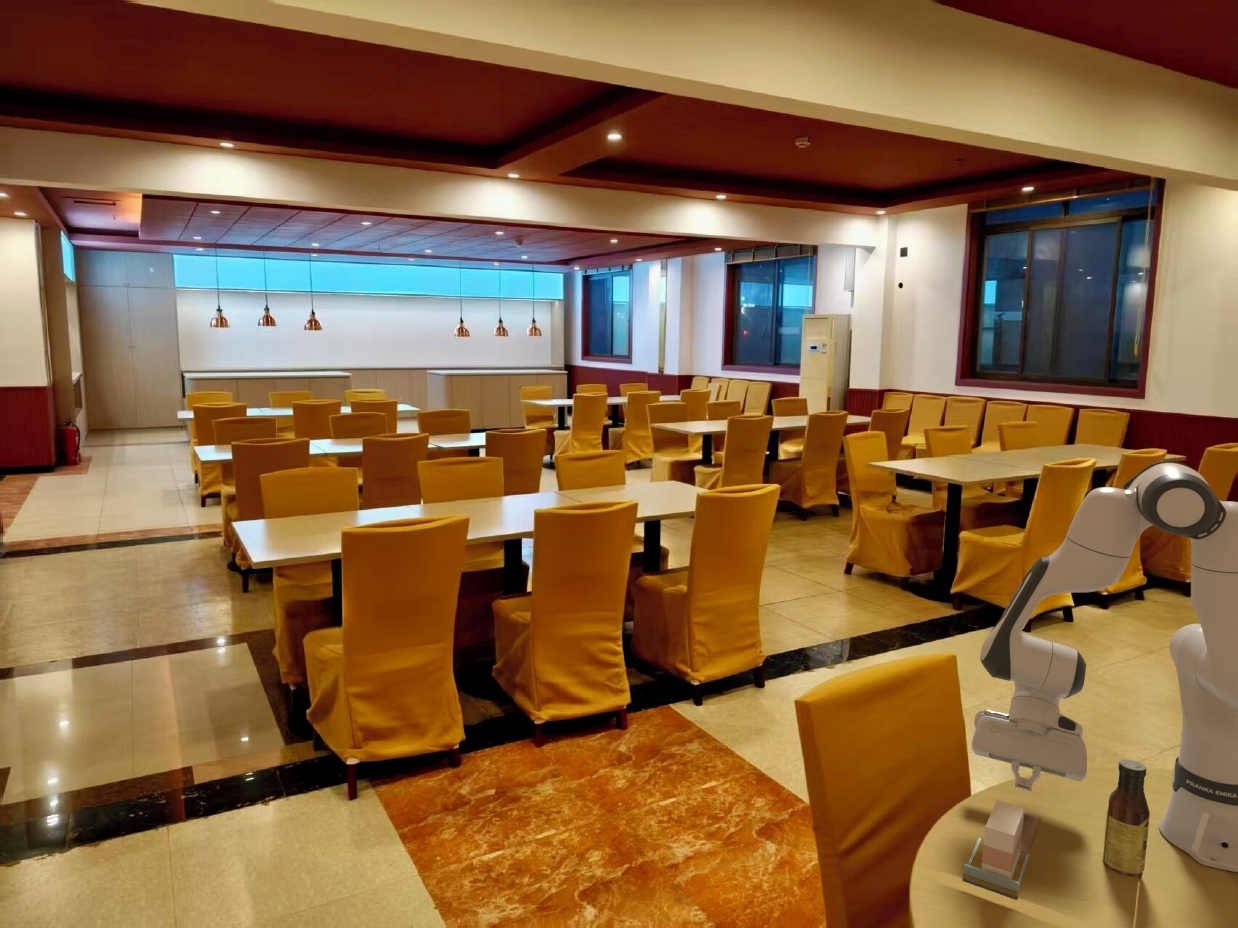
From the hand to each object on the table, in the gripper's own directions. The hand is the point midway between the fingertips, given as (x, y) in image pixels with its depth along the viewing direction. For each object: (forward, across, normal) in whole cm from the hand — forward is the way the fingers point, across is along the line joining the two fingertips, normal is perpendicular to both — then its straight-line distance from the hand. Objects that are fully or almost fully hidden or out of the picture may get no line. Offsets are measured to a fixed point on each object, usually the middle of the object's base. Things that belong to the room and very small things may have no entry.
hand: (1023, 788), depth 162 cm
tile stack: (+18, -2, -9) cm, 20 cm away
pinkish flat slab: (+9, 0, 0) cm, 9 cm away
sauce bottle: (+10, +17, -1) cm, 20 cm away
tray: (+18, -2, -8) cm, 20 cm away
